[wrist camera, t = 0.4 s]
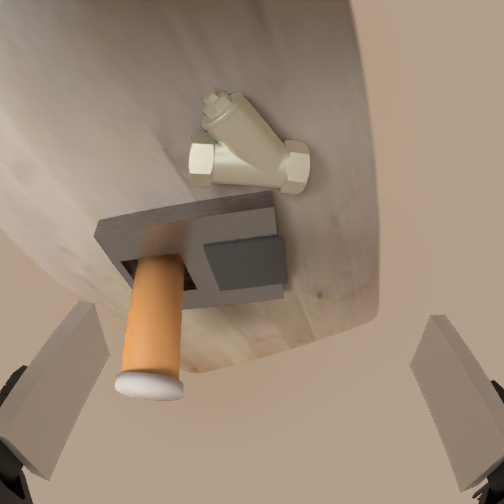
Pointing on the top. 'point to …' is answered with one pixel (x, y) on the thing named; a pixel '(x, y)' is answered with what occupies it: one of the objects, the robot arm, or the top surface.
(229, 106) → the pipe fitting
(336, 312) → the top surface
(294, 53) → the top surface
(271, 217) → the plate
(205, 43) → the top surface
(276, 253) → the pad
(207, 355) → the top surface
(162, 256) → the orange pill bottle
